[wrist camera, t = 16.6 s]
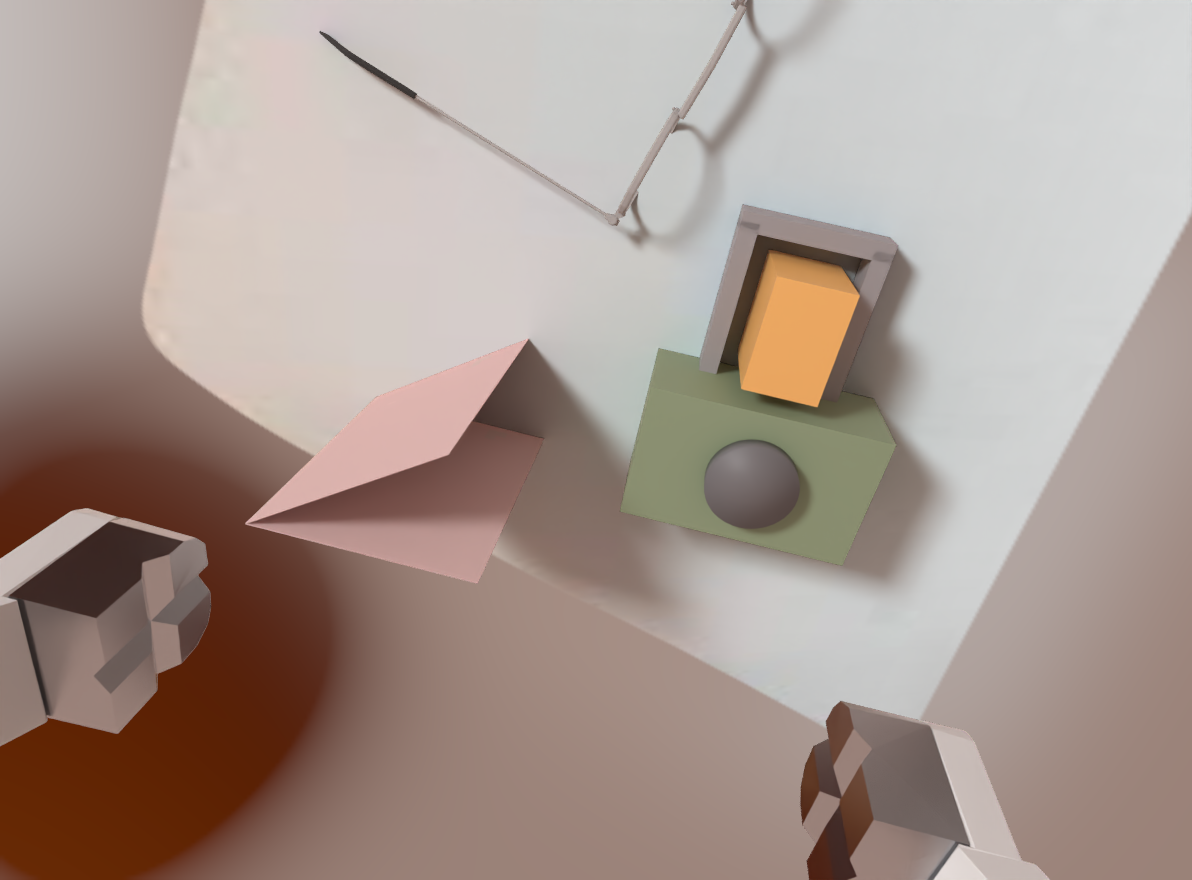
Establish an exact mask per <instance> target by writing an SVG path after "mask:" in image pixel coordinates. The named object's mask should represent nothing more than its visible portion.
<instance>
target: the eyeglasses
mask: <svg viewBox="0 0 1192 880" xmlns="http://www.w3.org/2000/svg"><path fill="white" fill-rule="evenodd" d="M746 1H747V0H735V2H731V5H733V7H734V8H735V9H736V12H735V14H734V16H733V18H732V19H731V21H730V23H729V25H728V27H727V29H726V31H725V33H724V34H723V36H722V38H721V40H720V42H719V44H718V46H717V47H716V49H715V51H714V53H713V55H712V57H711V59H710V60H709V62H708V64H707V66H706V67H705V69H704V71H703V72H702V74H701V76H700V77H699V79H698V81H697V82H696V84H695V86H694V87H693V89H692V91H691V93H690V94H689V96H688V98H687V99H686V101H685V103H684V104H683V106H682V108H681V109H679V108H675V107H673V108H672V110H674V111H673V112H672V113H671V115H670V116H669V118H668V120H667V121H666V123H665V125H664V126H663V128H662V130H661V131H660V133H659V135H658V136H657V138H656V140H655V142H654V143H653V145H652V147H651V149H650V150H649V152H648V154H647V156H646V158H645V159H644V161H643V163H642V165H641V166H640V168H639V170H638V172H637V174H636V175H635V177H634V179H633V181H632V183H631V185H630V186H629V188H628V190H627V192H626V194H625V196H624V198H623V200H622V201H621V204H620V206H619V208H618V210H617V211H616V213H615V214H608V213H607V214H606V213H605V212H603V211H601V210H600V209H598V208H597V207H595V206H593V205H592V204H590V203H588V202H587V201H585V200H584V199H582V198H580V197H579V196H577V195H576V194H574V193H572V192H571V191H569V190H568V189H566V188H564V187H563V186H561V185H560V184H558V183H556V182H555V181H553V180H552V179H550V178H548V177H547V176H545V175H544V174H542V173H540V172H539V171H537V170H535V169H534V168H532V167H531V166H529V165H527V164H526V163H524V162H523V161H521V160H519V159H518V158H516V157H515V156H513V155H511V154H510V153H508V152H507V151H505V150H503V149H502V148H500V147H499V146H497V145H495V144H494V143H492V142H491V141H489V140H487V139H486V138H484V137H482V136H481V135H479V134H478V133H476V132H474V131H473V130H471V129H470V128H468V127H466V126H465V125H463V124H462V123H460V122H458V121H457V120H455V119H454V118H452V117H450V116H449V115H447V114H446V113H444V112H442V111H441V110H439V109H438V108H436V107H434V106H433V105H431V104H430V103H428V102H426V101H425V100H423V99H421V98H420V97H418V96H417V94H416V93H415V92H413V91H412V90H410V89H409V88H407V87H406V86H404V85H402V84H401V83H399V82H398V81H396V80H394V79H393V78H391V77H390V76H388V75H386V74H385V73H383V72H382V71H380V70H378V69H377V68H375V67H374V66H372V65H370V64H369V63H367V62H366V61H364V60H362V59H361V58H359V57H358V56H356V55H355V54H353V53H351V52H350V51H349V50H347V49H346V48H344V47H343V46H342V45H340V44H339V43H338V42H337V41H336V40H334V39H333V38H332V37H330V36H329V35H327V34H325V33H323V32H321V31H320V33H321V34H322V35H323V36H324V37H325V38H326V39H327V40H328V41H329V42H330V43H331V44H333V45H334V46H335V47H336V48H337V49H338V50H339V51H341V52H342V53H343V54H344V55H345V56H347V57H348V58H349V59H351V60H352V61H354V62H355V63H357V64H359V65H360V66H362V67H363V68H365V69H367V70H368V71H370V72H371V73H373V74H375V75H376V76H378V77H379V78H381V79H383V80H384V81H386V82H387V83H389V84H391V85H392V86H394V87H396V88H397V89H399V90H400V91H402V92H404V93H405V94H407V95H409V96H410V97H412V98H414V99H415V98H417V99H418V100H420V101H421V102H423V103H425V104H426V105H428V106H429V107H431V108H433V109H434V110H436V111H437V112H439V113H441V114H442V115H444V116H445V117H447V118H449V119H450V120H452V121H454V122H455V123H457V124H458V125H460V126H462V127H463V128H465V129H466V130H468V131H470V132H471V133H473V134H474V135H476V136H478V137H479V138H481V139H482V140H484V141H486V142H487V143H489V144H490V145H492V146H494V147H495V148H497V149H499V150H500V151H502V152H503V153H505V154H507V155H508V156H510V157H511V158H513V159H515V160H516V161H518V162H519V163H521V164H523V165H524V166H526V167H527V168H529V169H531V170H532V171H534V172H535V173H537V174H539V175H540V176H542V177H544V178H545V179H547V180H548V181H550V182H552V183H553V184H555V185H556V186H558V187H560V188H561V189H563V190H564V191H566V192H568V193H569V194H571V195H572V196H574V197H576V198H577V199H579V200H580V201H582V202H584V203H585V204H587V205H589V206H590V207H592V208H593V209H595V210H597V211H598V212H600V213H601V214H603V215H605V218H606V219H607V220H608V223H609V224H610V225H616V226H617V225H618V223H619V221H620V220H619V218H622V217H624V216H625V214H626V212H627V210H628V209H629V207H630V205H631V204H632V202H633V201H634V199H635V197H636V196H637V194H638V192H637V189H638V187H639V186H640V184H641V182H642V180H643V178H644V177H645V175H646V173H647V171H648V170H649V168H650V166H651V164H652V163H653V161H654V159H655V157H656V156H657V154H658V152H659V150H660V149H661V147H662V145H663V143H664V142H665V140H666V138H667V137H668V135H669V133H671V134H672V132H673V130H674V129H675V127H676V125H677V123H678V121H679V119H680V118H681V119H684V118H685V116H686V114H687V113H688V111H689V109H690V108H691V106H692V104H693V103H694V101H695V99H696V98H697V96H698V94H699V93H700V91H701V90H702V88H703V86H704V85H705V83H706V81H707V80H708V78H709V76H710V75H711V73H712V71H713V70H714V68H715V66H716V64H717V63H718V61H719V59H720V57H721V55H722V53H723V52H724V50H725V48H726V46H727V44H728V42H729V40H730V39H731V37H732V35H733V33H734V31H735V29H736V28H737V26H738V24H739V22H740V20H741V18H742V16H743V15H744V13H745V11H746V9H747V7H746V6H745V5H744V4H745V3H746Z"/></svg>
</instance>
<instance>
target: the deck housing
mask: <svg viewBox="0 0 1192 880" xmlns="http://www.w3.org/2000/svg"><path fill="white" fill-rule="evenodd" d="M757 234H758V235H762V236H766V237H771V238H775V239H780V240H784V241H788V242H793V243H797V244H802V245H806V246H811V247H815V248H819V249H824V250H828V251H833V252H837V253H841V254H846V255H850V256H855V257H859V258H862V260H861V263H860V265H859V268H858V271H857V273H856V276H855V279H854V282H853V286H854V287H855V289H856V290H857V292H858V293H859V295H860V297H859V299H858V302H857V305H856V307H855V310H854V313H853V315H852V318H851V320H850V323H849V326H848V328H847V331H846V333H845V336H844V339H843V341H842V344H841V347H840V349H839V352H838V354H837V357H836V360H835V362H834V365H833V368H832V370H831V373H830V375H829V378H828V381H827V383H826V386H825V388H824V391H823V394H822V396H821V399H820V402H819V404H818V407H814V406H810V405H806V404H801V403H797V402H793V401H789V400H785V399H780V398H776V397H772V396H768V395H764V394H760V393H755V392H751V391H747V390H743V389H741V383H740V371H739V367H736V366H732V365H728V364H724V363H720V359H721V356H722V353H723V349H724V346H725V343H726V339H727V336H728V332H729V329H730V326H731V322H732V319H733V315H734V312H735V309H736V305H737V302H738V299H739V295H740V292H741V288H742V285H743V282H744V278H745V275H746V271H747V268H748V265H749V261H750V258H751V255H752V251H753V248H754V244H755V241H756V238H757ZM897 248H898V245H897V244H896V243H895V242H894V241H893V240H892V239H891V238H890V237H885V236H881V235H877V234H872V233H868V232H863V231H859V230H854V229H850V228H845V227H841V226H837V225H832V224H828V223H823V222H819V221H814V220H810V219H806V218H801V217H797V216H792V215H788V214H783V213H779V212H775V211H770V210H766V209H761V208H757V207H752V206H748V205H744V204H743V205H742V208H741V212H740V215H739V219H738V223H737V226H736V230H735V233H734V237H733V240H732V244H731V248H730V251H729V255H728V258H727V262H726V265H725V269H724V273H723V276H722V280H721V283H720V287H719V290H718V294H717V298H716V301H715V305H714V308H713V312H712V315H711V319H710V323H709V326H708V330H707V333H706V337H705V340H704V344H703V348H702V351H701V355H700V358H698V357H694V356H689V355H685V354H681V353H677V352H672V351H668V350H664V349H660V348H659V349H658V353H657V357H656V361H655V365H654V369H653V373H652V377H651V381H650V385H649V389H648V393H647V397H646V401H645V405H644V409H643V413H642V417H641V421H640V425H639V429H638V433H637V437H636V441H635V445H634V449H633V453H632V457H631V461H630V466H629V471H628V475H627V480H626V485H625V490H624V494H623V499H622V504H621V508H620V512H623V513H628V514H632V515H636V516H640V517H644V518H648V519H652V520H656V521H660V522H664V523H669V524H673V525H677V526H681V527H685V528H689V529H693V530H697V531H701V532H705V533H709V534H714V535H718V536H722V537H726V538H730V539H734V540H738V541H742V542H746V543H750V544H755V545H759V546H763V547H767V548H771V549H775V550H779V551H783V552H787V553H791V554H796V555H800V556H804V557H808V558H812V559H816V560H820V561H824V562H828V563H832V564H836V565H841V566H842V565H843V563H844V561H845V558H846V556H847V554H848V552H849V550H850V547H851V545H852V543H853V541H854V538H855V536H856V534H857V532H858V530H859V527H860V525H861V523H862V521H863V518H864V516H865V514H866V512H867V510H868V507H869V505H870V503H871V501H872V498H873V496H874V494H875V492H876V490H877V487H878V485H879V483H880V481H881V478H882V476H883V474H884V472H885V470H886V467H887V465H888V463H889V461H890V458H891V456H892V454H893V452H894V450H895V447H896V443H895V441H894V439H893V437H892V435H891V433H890V431H889V429H888V427H887V425H886V423H885V421H884V419H883V417H882V415H881V413H880V411H879V409H878V407H877V405H876V403H875V401H874V399H873V398H868V397H864V396H860V395H856V394H851V393H847V392H843V391H842V388H843V386H844V383H845V381H846V378H847V376H848V373H849V371H850V368H851V366H852V363H853V360H854V358H855V355H856V353H857V350H858V348H859V345H860V343H861V340H862V337H863V335H864V332H865V330H866V327H867V325H868V322H869V320H870V317H871V314H872V312H873V309H874V307H875V304H876V302H877V299H878V297H879V294H880V291H881V289H882V286H883V284H884V281H885V279H886V276H887V274H888V271H889V268H890V266H891V263H892V261H893V258H894V256H895V253H896V251H897Z"/></svg>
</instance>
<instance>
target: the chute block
mask: <svg viewBox="0 0 1192 880" xmlns="http://www.w3.org/2000/svg"><path fill="white" fill-rule="evenodd" d="M859 297H860V295H859V293H858V292H857V290H856V289H855V287H854V286H853V284H852V283H851V281H850V280H849V278H848V277H847V275H846V274H845V272H844V271H843V269H842V267H841V266H839V265H835V264H831V263H826V262H822V261H818V260H813V259H809V258H805V257H800V256H796V255H792V254H787V253H783V252H779V251H774V250H770V249H769V250H768V253H767V256H766V260H765V263H764V266H763V269H762V272H761V276H760V279H759V282H758V285H757V289H756V292H755V295H754V298H753V302H752V305H751V308H750V311H749V315H748V318H747V321H746V324H745V327H744V331H743V334H742V337H741V340H740V344H739V347H738V360H739V371H740V383H741V389H743V390H747V391H751V392H755V393H760V394H764V395H768V396H772V397H776V398H780V399H785V400H789V401H793V402H797V403H801V404H806V405H810V406H814V407H818V404H819V402H820V399H821V396H822V394H823V391H824V388H825V386H826V383H827V381H828V378H829V375H830V373H831V370H832V368H833V365H834V362H835V360H836V357H837V354H838V352H839V349H840V347H841V344H842V341H843V339H844V336H845V333H846V331H847V328H848V326H849V323H850V320H851V318H852V315H853V313H854V310H855V307H856V305H857V302H858V299H859Z"/></svg>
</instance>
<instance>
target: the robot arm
mask: <svg viewBox="0 0 1192 880" xmlns="http://www.w3.org/2000/svg"><path fill="white" fill-rule="evenodd" d="M207 565H208V562H207V555H206V548H205V543H203V542H201V541H200V540H198V539H196V538H194V537H191V536H187V535H183V534H180V533H176V532H173V531H169V530H165V529H162V528H158V527H154V526H151V525H147V524H144V523H141V522H137V521H133V520H129V519H126V518H119V517H115V516H112V515H109V514H105V513H102V512H98V511H95V510H91V509H87V508H86V509H80V510H75V511H71V512H69V513H68V514H66V515H65V516H63V517H62V518H61V519H59V520H58V521H56V522H55V523H53V524H52V525H50V526H49V527H47V528H46V529H44V530H43V531H41V532H40V533H38V534H37V535H35V536H34V537H33V538H31V539H29V540H28V541H26V542H25V543H23V544H22V545H20V546H19V547H17V548H16V549H15V550H13V551H11V552H10V553H8V554H7V555H6V556H4V557H3V558H1V559H0V746H1V745H3V744H5V743H7V742H9V741H11V740H13V739H14V738H17V737H19V736H21V735H22V734H24V733H26V732H28V731H30V730H32V729H34V728H36V727H38V726H40V725H42V724H44V723H45V722H47V717H48V718H53V719H57V720H61V721H65V722H70V723H74V724H78V725H82V726H87V727H91V728H95V729H100V730H104V731H108V732H112V733H117V734H118V733H119V732H120V731H121V730H122V729H123V727H124V726H125V725H126V724H127V723H128V722H129V721H130V720H131V719H132V718H133V716H134V715H135V714H136V713H137V712H138V711H139V710H140V709H141V708H142V707H143V705H144V704H145V703H146V702H147V701H148V700H149V699H150V698H151V696H152V695H153V694H154V693H155V692H156V691H157V674H158V673H160V672H162V671H165V670H167V669H169V668H172V667H174V666H176V665H179V664H181V663H182V662H183V661H184V660H185V659H186V658H187V656H188V655H189V654H190V653H191V652H192V651H193V649H194V648H195V647H196V646H197V644H198V642H199V640H200V638H201V636H202V634H203V632H204V630H205V628H206V626H207V624H208V619H209V615H210V609H211V600H210V591H209V590H208V588H207V587H206V586H205V584H204V583H203V582H202V580H201V579H200V578H199V576H198V574H199V573H200V572H201V571H202V570H203V569H204V568H205V567H206V566H207ZM826 726H827V732H828V739H827V740H825V741H823V742H821V743H819V744H817V745H815V746H813V748H812V751H811V753H810V755H809V758H808V760H807V762H806V764H805V768H804V773H803V778H802V783H801V797H800V806H801V816H802V825H803V826H804V828H805V829H806V831H807V832H808V834H809V835H810V836H811V838H812V839H813V841H814V842H815V843H816V845H815V847H814V848H813V850H812V852H811V854H810V856H809V858H808V859H807V868H808V875H809V880H1050V879H1049V878H1048V877H1047V876H1046V875H1045V874H1044V873H1043V872H1042V871H1041V870H1040V869H1039V868H1038V867H1037V866H1036V865H1035V864H1032V863H1028V862H1025V861H1022V859H1021V857H1020V854H1019V852H1018V850H1017V847H1016V844H1015V842H1014V840H1013V837H1012V835H1011V832H1010V830H1009V827H1008V824H1007V822H1006V820H1005V817H1004V814H1003V812H1002V809H1001V807H1000V805H999V802H998V799H997V797H996V794H995V792H994V790H993V787H992V785H991V782H990V780H989V777H988V775H987V772H986V769H985V767H984V764H983V762H982V759H981V757H980V755H979V752H978V749H977V747H976V744H975V742H974V740H973V738H972V737H971V736H970V735H969V734H968V733H967V732H966V731H965V730H960V729H956V728H952V727H948V726H943V725H939V724H935V723H931V722H927V721H919V720H917V719H913V718H909V717H905V716H901V715H897V714H892V713H888V712H884V711H880V710H876V709H872V708H868V707H864V706H860V705H856V704H851V703H847V702H843V701H840V702H839V703H838V704H837V705H836V706H834V707H833V709H832V711H831V713H830V715H829V716H828V718H827V720H826Z"/></svg>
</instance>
